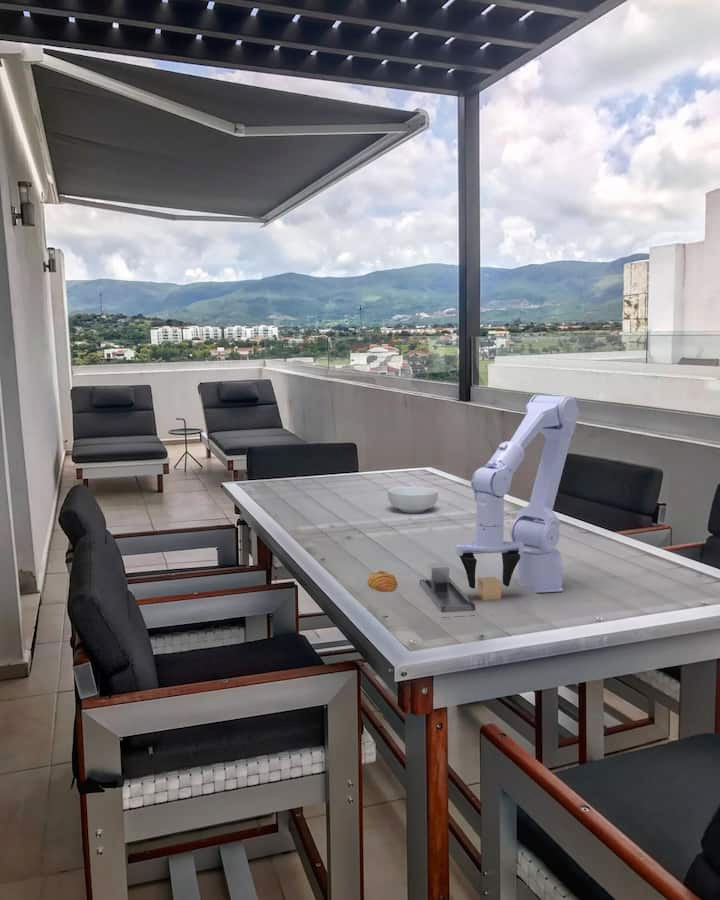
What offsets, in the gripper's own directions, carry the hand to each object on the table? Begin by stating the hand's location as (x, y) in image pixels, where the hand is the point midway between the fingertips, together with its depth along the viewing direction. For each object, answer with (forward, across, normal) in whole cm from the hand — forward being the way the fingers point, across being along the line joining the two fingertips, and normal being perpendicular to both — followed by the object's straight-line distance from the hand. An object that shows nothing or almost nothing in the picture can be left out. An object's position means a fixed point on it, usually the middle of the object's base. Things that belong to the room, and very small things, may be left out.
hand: (489, 586), depth 175 cm
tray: (+4, +9, -2) cm, 10 cm away
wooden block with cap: (+4, 0, 0) cm, 4 cm away
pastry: (+4, +20, -14) cm, 25 cm away
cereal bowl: (+3, -8, -100) cm, 100 cm away
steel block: (+2, +9, -9) cm, 13 cm away
